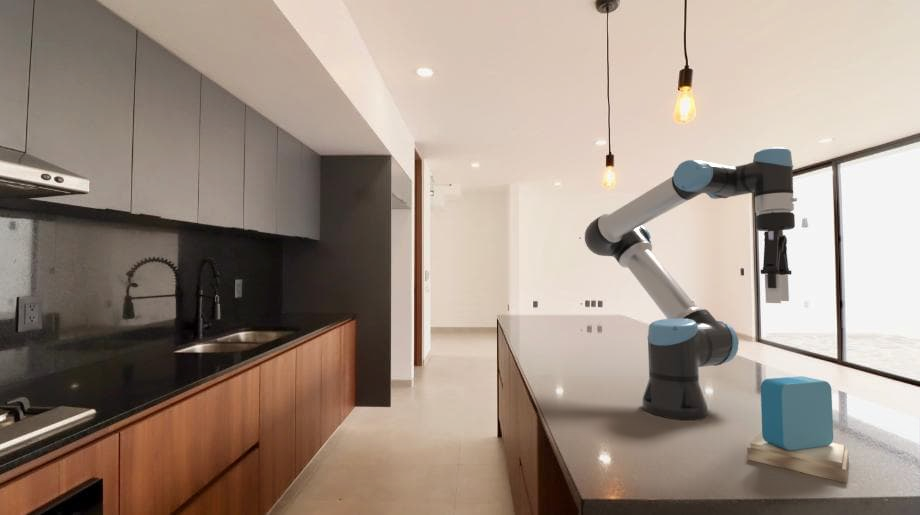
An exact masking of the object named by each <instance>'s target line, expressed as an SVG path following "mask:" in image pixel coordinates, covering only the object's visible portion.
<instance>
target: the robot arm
mask: <svg viewBox="0 0 920 515" xmlns="http://www.w3.org/2000/svg"><path fill="white" fill-rule="evenodd" d="M752 160H753V161H752V162H749V163H746V164H741V165H736V166H728V165H724V164H719V163H713V162H710V161H709V162H708V161H704V160H701V159H697V160H695V159H687V160H685V161H682V162H681V163H679V164H678V166H677V167H676V168H675V170H674V171H673V176H671V177H669V178H668V179H666V180H664V181H663V182H661V183H659V184H658V185H656V186H653V188H651V189H650V190H647V191H646V192H645V193H642V194H641V195H639V196H637V197H636V198H635V199H632V201H629V202H628V203H626V204H625V205H623V206H621V207H620V208H618V209H616V210H615V211H613V212H611V213H604V214H601V215H600V216H599V217H596V218H595V219H593V221H591V223H589V224H588V226H587V228H586V229H585V232H584V242H585V245H586V247H587V249H588V250H589V251H590V252H592V254H596V255H598V256H602V257H613V258H614V259H615V260H616V262H617V263H618V264H619V265H620V267H622V268H624V269H625V268H628V269H629V271H630V272H631V273H632V275H633V277H635V279H636V280H637V281H638V282H639V283H640V285H641V286H642V288H643V289H644V290H645V291H646V293H647V294H648V296H649V298H651V300H652V301H653V302H654V303H655V305H656V306H657V307H658V309H659V310H660V311H661V313H662V314H663V315H664V316H665V318H663V319H657V320H654V321H652V322H651V323H650V324H649V326H648V332H647V343H648V344H647V347H648V350H647V351H648V353H647V354H648V382H647V385H646V387H645V390H644V393H643V397H642V409H643V410H644V411H646V412H648V413H650V414H652V415H656V416H660V417H663V418H669V419H670V418H671V419H677V420H699V419H700V420H701V419H705V418H706V417H707V416H708V414H709V413H708V411H709V410H708V404H707V401H706V399H705V396H704V394H703V391H702V388H701V385H700V383H699V382H700V381H699V380H700V379H699V376H700V375H699V368H703V367H710V366H711V367H712V366H714V367H716V366H721V365H723V364H726V363H729V362H730V361H731V360H733V359H734V358H735V357H736V355H737V353H738V352H739V342H740V341H739V338H738V334H737V332H736V331H735V329H734V328H733V327H732V326H731V325H730V324H728V323H727V322H724V321H720V320H716V318H715V317H714V316H713V315H712V314H711V313H710V311H709V310H708V309H706V308H701V307H700V308H699V307H698V306H697V305H696V304H695V303H694V301H693V300H692V299H691V297H690V296H689V295H688V294H687V292H685V290H684V289H683V288H682V287H681V286H680V285H679V283H678V282H677V281H676V280H675V279H674V278H673V276H672V275H671V274H670V273H669V271H668V270H667V268H665V267H664V265H663V264H662V263H661V262H660V261H659V260H658V259H657V257H656V256H655V255H654V253H652V250H653V245H652V241H651V238H652V237H651V234H650V232H649V231H648V229H647V228H646V227H644V225H645V224H647V223H649V222H651V221H652V220H654V219H656V218H658V217H660V216H661V215H664V214H665V213H668V212H669V211H671V210H673V209H674V208H677V207H678V206H680V205H682V204H684V203H686V202H688V201H690V200H693V199H694V198H696V197H697V196H699V195H701V194H706V195H707V196H708V197H709V198H711V199H714V200H715V199H716V200H717V199H728V198H731V197H737V196H742V195H748V194H754V196H755V197H754V206H755V207H754V208H755V209H754V212H755V213H756V214H758V215H756V216H755V227H756V228H755V229H756V230H757V231H760V232H764V233H763V235H764V239H763V240H764V245H763V246H764V248H763V264H762V269H760V274H761V275H764V289H765V292H764V293H765V303H767V304H781V303H782V302H790V295H789V293H790V292H789V275H792V270H790V268H789V261H788V253H787V252H788V249H787V244H788V243H787V242H788V238H787V236H786V234H784V232H783V231H786V230H787V231H789V230H793V229H794V228H795V227H796V223H795V218H796V217H795V213H794V212H792V211H794V209H795V204H794V202H795V203H796V202H797V201H798V198H797V197H794V182H793V181H794V178H793V177H794V175H793V171H794V170H793V168H794V165H793V157H792V151H791V150H790V149H789V148H786V147H771V148H764V149H762V150H761V149H760V151H757V152H755V153H754V155H753V159H752Z"/></svg>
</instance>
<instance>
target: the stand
mask: <svg viewBox="0 0 920 515" xmlns="http://www.w3.org/2000/svg"><path fill="white" fill-rule="evenodd" d="M746 451H747V452H746V453H747V454H746V455H747V457H746V458H747V460H748V461H752V462H757V463H762V464H765V465H768V466H769V465H770V466H774V467H777V468H778V467H779V468H783V469H787V470H790V471H793V472H799V473H804V474H806V475H807V474H808V475H811V476H816V477H820V478H823V479H826V480H831V481H835V482H840V483H844V484H847V482H848V473H849V471H848V470H849V458H850V457H849V449H848V448H845V444H840V443H836V442H832V443H831V444H830V445H829V446H824V447H816V448H809V449H801V450H794V451H789V450H786V449H783V448H781V447H778V446H776V445H773V444H770V443H768V442H766V441H765V440H764V439H763V436H762V428H760V429H759V431H758V432H757V433H756V434H755V436H754V437H753V439H752V440H751V441H750V443H749V444H748V445H747V447H746Z"/></svg>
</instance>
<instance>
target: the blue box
mask: <svg viewBox="0 0 920 515" xmlns="http://www.w3.org/2000/svg"><path fill="white" fill-rule="evenodd" d="M832 398H833V396H832V386H831V384H830V383H829V382H828V381H826V380H821V379H816V378H813V377H807V376H803V375H802V376H801V375H800V376H799V375H798V376H789V377H788V376H787V377H777V378H776V377H774V378H766V379H763V380H762V382H761V384H760V405H761V406H760V408H761V429H762V436H763V439H764V440H765V441H766V442H768V443H770V444H773V445H776V446H778V447H781V448H783V449H786V450H789V451H794V450H801V449H809V448H816V447H824V446H829V445H830V444H831V443H833V441H834V421H833V420H834V419H833V418H834V417H833V399H832Z"/></svg>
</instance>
